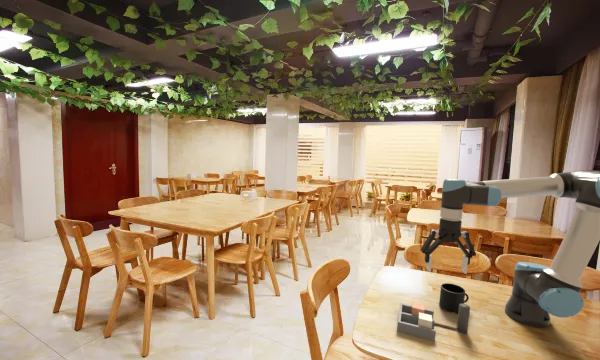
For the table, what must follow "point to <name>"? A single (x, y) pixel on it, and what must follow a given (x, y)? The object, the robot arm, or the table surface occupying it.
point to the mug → (452, 297)
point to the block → (425, 320)
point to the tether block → (461, 324)
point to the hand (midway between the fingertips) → (446, 271)
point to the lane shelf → (414, 323)
